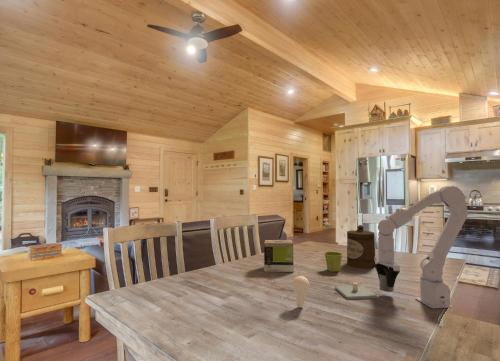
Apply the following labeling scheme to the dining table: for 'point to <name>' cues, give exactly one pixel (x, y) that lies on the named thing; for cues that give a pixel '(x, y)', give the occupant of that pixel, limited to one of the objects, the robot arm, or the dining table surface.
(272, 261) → the tea box
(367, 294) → the shaft plate
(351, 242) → the wooden container
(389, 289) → the tube
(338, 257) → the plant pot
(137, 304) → the dining table surface
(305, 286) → the lightbulb
